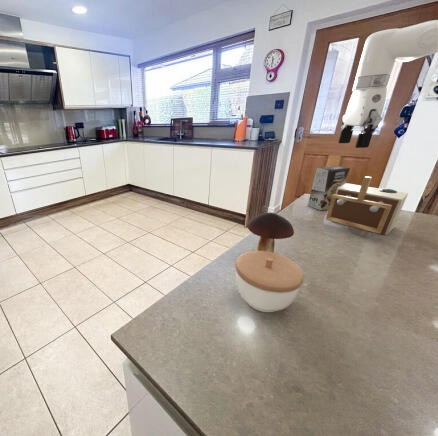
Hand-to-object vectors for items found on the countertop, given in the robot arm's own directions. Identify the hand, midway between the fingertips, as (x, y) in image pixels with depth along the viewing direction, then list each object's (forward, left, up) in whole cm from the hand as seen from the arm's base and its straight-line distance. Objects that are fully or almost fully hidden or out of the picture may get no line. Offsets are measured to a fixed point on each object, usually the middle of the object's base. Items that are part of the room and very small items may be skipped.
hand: (352, 145), depth 75 cm
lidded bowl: (-6, +56, -26) cm, 62 cm away
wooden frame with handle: (-8, +7, -24) cm, 26 cm away
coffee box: (+6, -11, -26) cm, 29 cm away
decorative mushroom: (+1, +43, -26) cm, 50 cm away
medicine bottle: (-11, -7, -26) cm, 29 cm away
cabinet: (-8, +2, -26) cm, 27 cm away
